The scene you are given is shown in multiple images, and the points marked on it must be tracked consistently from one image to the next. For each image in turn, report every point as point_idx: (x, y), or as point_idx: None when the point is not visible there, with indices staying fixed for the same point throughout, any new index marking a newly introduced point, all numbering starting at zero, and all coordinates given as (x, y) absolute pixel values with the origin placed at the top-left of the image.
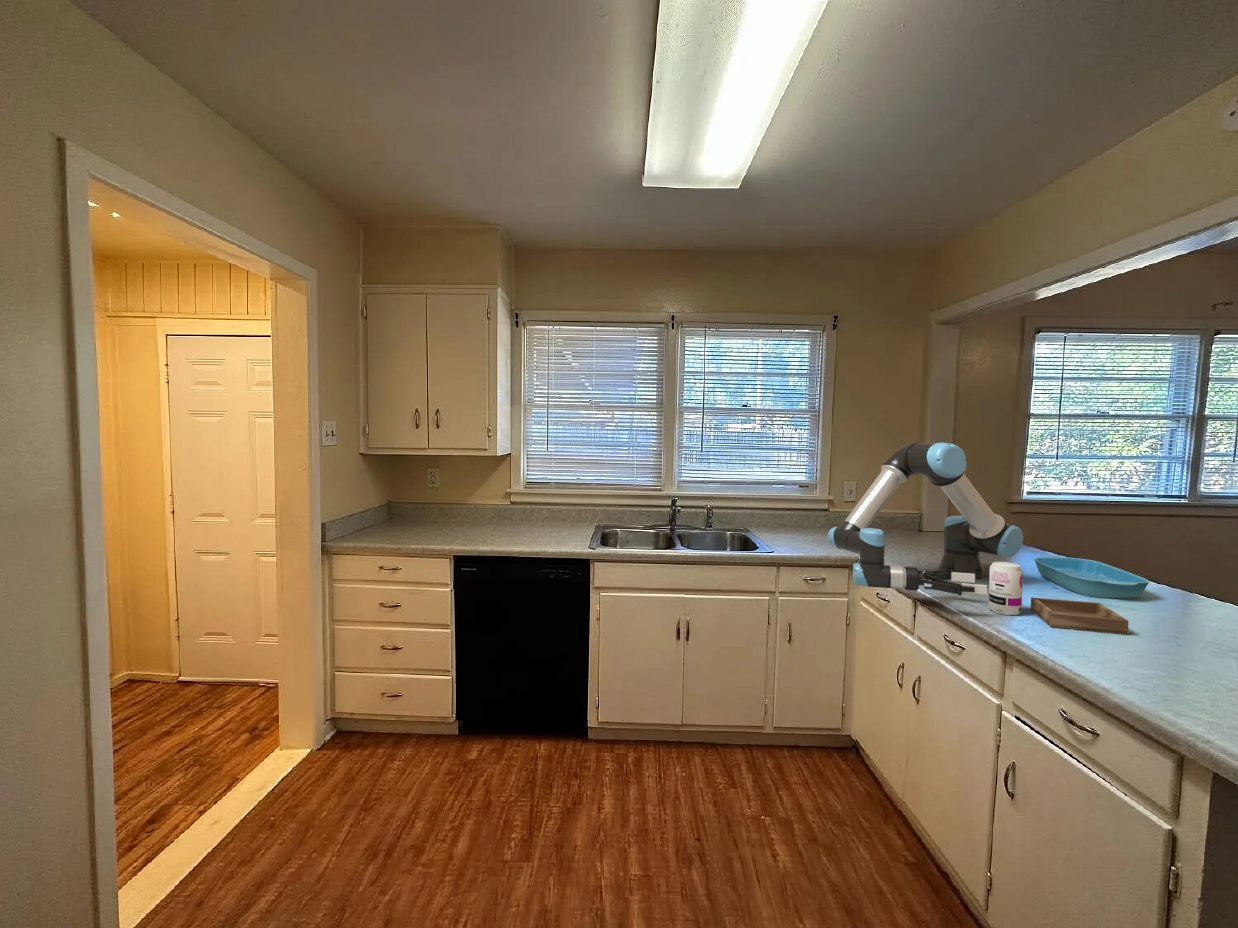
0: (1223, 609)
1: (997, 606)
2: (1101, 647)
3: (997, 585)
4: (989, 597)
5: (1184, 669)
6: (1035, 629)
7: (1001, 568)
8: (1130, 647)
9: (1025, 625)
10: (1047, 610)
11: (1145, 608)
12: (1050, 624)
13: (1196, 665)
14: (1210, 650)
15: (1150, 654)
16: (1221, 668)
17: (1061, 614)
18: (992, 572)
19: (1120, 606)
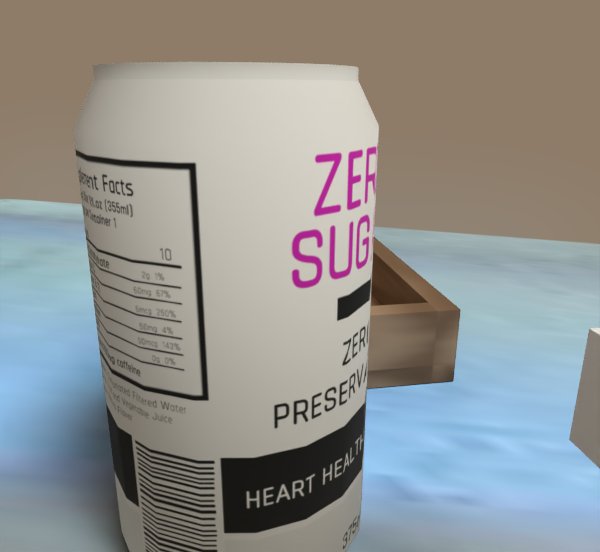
0: (30, 202)
1: (349, 507)
2: (588, 319)
3: (352, 310)
4: (258, 501)
5: (597, 261)
6: (559, 426)
7: (358, 96)
8: (502, 287)
9: (521, 453)
10: (400, 314)
11: (37, 241)
12: (442, 370)
13: (535, 251)
14: (381, 233)
15: (530, 275)
16: (512, 239)
17: (434, 294)
18: (307, 181)
19: (20, 258)
